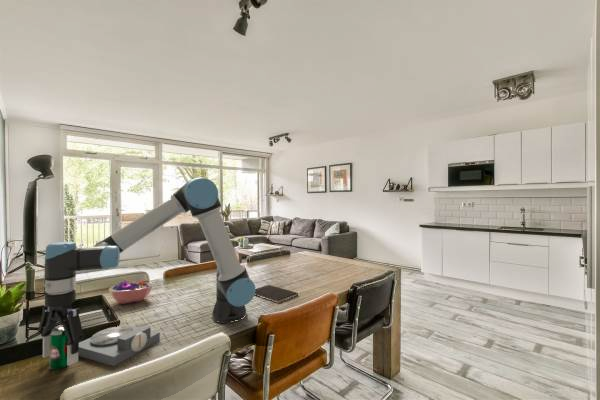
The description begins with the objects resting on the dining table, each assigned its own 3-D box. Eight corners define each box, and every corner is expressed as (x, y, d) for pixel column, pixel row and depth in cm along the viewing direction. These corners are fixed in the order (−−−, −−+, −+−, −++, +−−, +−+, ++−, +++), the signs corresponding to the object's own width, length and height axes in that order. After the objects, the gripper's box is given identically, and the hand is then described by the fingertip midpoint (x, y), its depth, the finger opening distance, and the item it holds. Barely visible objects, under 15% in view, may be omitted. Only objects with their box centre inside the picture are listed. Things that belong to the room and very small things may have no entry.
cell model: (145, 307, 140) (145, 284, 140) (101, 309, 136) (101, 286, 136) (157, 295, 156) (157, 275, 156) (117, 297, 153) (117, 276, 153)
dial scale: (160, 340, 107) (161, 322, 107) (115, 366, 90) (115, 345, 90) (121, 331, 114) (121, 315, 114) (72, 354, 97) (72, 334, 97)
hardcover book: (278, 304, 145) (278, 300, 145) (249, 295, 160) (249, 290, 160) (298, 296, 158) (298, 292, 158) (269, 288, 172) (269, 284, 172)
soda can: (45, 368, 88) (46, 330, 88) (64, 360, 93) (64, 324, 93) (55, 372, 87) (56, 333, 87) (74, 363, 91) (74, 326, 91)
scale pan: (141, 331, 107) (141, 329, 107) (107, 348, 95) (107, 345, 95) (116, 326, 111) (116, 323, 111) (81, 341, 99) (81, 339, 99)
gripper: (23, 290, 91) (23, 358, 91) (72, 299, 82) (71, 374, 82) (51, 283, 98) (50, 346, 98) (98, 291, 89) (97, 360, 89)
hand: (60, 359), depth 90 cm, fingers open, 11 cm apart
